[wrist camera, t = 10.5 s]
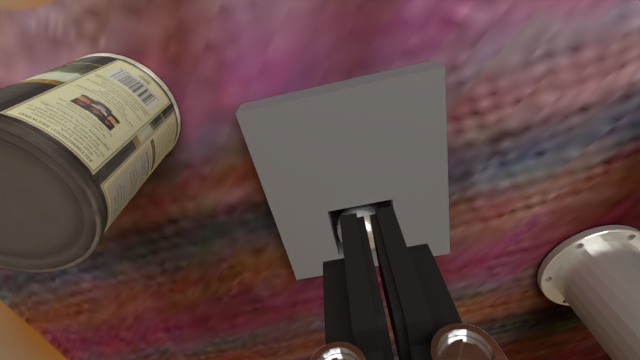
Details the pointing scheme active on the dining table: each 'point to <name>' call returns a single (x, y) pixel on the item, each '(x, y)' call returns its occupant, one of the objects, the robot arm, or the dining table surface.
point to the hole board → (353, 158)
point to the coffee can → (77, 156)
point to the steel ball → (360, 211)
